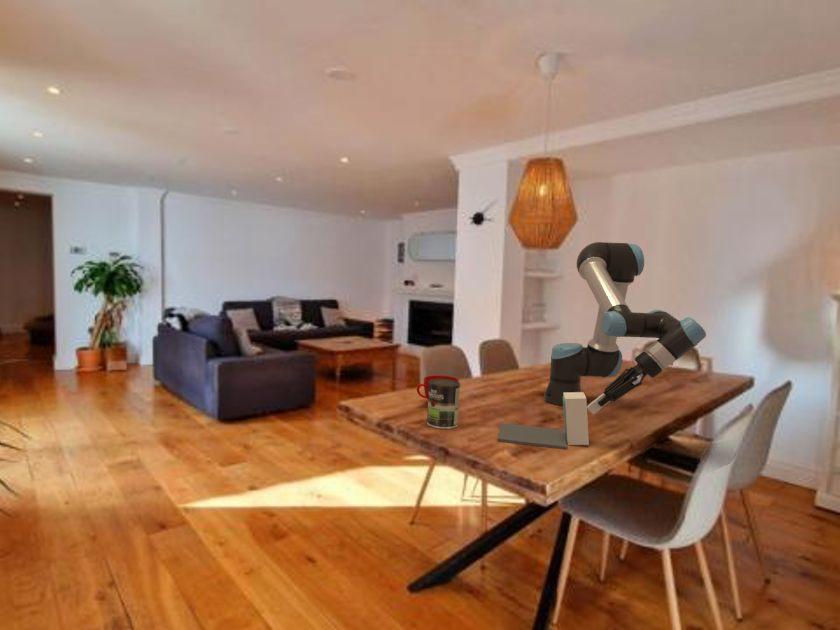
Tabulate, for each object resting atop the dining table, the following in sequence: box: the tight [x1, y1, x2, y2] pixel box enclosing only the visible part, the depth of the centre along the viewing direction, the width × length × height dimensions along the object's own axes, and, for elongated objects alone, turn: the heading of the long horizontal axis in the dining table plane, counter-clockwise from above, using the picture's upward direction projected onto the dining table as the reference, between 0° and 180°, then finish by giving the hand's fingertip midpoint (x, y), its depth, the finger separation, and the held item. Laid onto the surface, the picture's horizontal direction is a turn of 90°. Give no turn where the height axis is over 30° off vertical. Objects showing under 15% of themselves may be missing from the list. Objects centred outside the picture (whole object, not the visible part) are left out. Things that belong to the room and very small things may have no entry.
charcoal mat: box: [497, 422, 568, 450], centre depth 151 cm, size 20×16×1 cm
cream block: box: [562, 391, 590, 446], centre depth 148 cm, size 6×8×14 cm
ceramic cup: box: [416, 375, 460, 400], centre depth 180 cm, size 13×17×10 cm
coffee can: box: [426, 379, 461, 430], centre depth 159 cm, size 10×10×14 cm
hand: (589, 410), depth 146 cm, fingers closed
